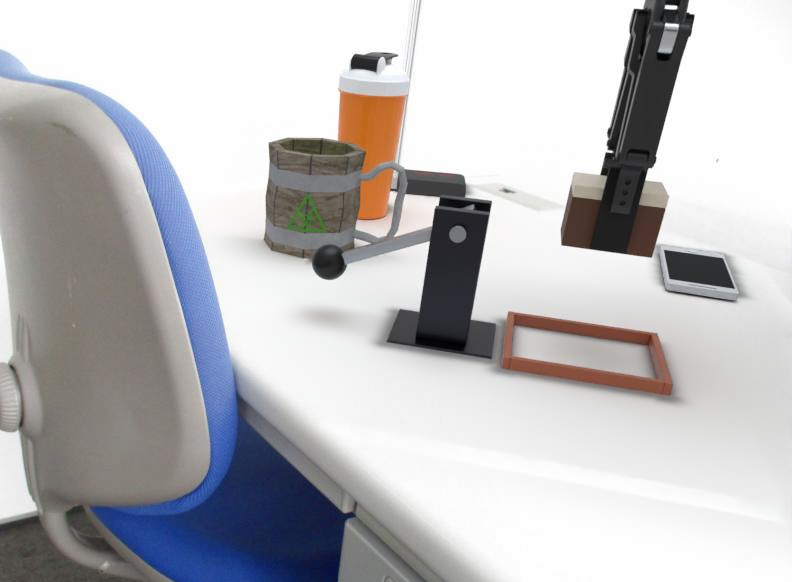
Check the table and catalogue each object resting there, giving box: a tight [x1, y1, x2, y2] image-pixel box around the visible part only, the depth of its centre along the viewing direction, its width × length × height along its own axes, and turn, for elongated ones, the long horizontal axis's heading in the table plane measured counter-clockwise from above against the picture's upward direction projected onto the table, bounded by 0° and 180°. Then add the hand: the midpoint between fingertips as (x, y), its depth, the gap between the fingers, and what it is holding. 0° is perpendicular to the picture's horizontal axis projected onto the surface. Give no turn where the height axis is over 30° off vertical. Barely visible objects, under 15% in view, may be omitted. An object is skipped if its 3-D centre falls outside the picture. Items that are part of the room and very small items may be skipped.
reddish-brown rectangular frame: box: [500, 311, 674, 396], centre depth 76 cm, size 13×11×2 cm
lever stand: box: [386, 195, 497, 360], centre depth 76 cm, size 9×8×13 cm
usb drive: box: [391, 168, 467, 198], centre depth 130 cm, size 5×12×3 cm, turn 80°
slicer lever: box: [311, 204, 476, 281], centre depth 76 cm, size 15×3×3 cm, turn 72°
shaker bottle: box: [337, 51, 411, 220], centre depth 113 cm, size 9×9×20 cm
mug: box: [263, 137, 408, 259], centre depth 98 cm, size 16×11×12 cm
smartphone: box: [658, 245, 739, 301], centre depth 100 cm, size 7×16×1 cm, turn 160°
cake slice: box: [560, 171, 670, 259], centre depth 71 cm, size 7×5×5 cm
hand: (605, 240), depth 72 cm, fingers closed on cake slice, 5 cm apart
